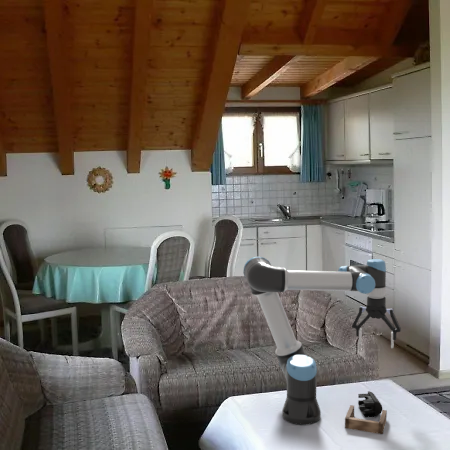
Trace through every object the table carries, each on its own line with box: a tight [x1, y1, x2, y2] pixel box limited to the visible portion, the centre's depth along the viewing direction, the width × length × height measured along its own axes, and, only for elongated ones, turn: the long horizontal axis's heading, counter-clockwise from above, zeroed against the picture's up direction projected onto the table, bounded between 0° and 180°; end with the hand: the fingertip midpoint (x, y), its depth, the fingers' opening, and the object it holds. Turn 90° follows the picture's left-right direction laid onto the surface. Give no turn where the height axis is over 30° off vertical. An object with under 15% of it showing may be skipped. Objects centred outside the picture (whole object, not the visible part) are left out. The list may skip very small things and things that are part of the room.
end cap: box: [357, 390, 383, 418], centre depth 232 cm, size 10×7×7 cm
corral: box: [344, 404, 387, 435], centre depth 222 cm, size 14×12×4 cm
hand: (376, 345), depth 243 cm, fingers open, 12 cm apart
